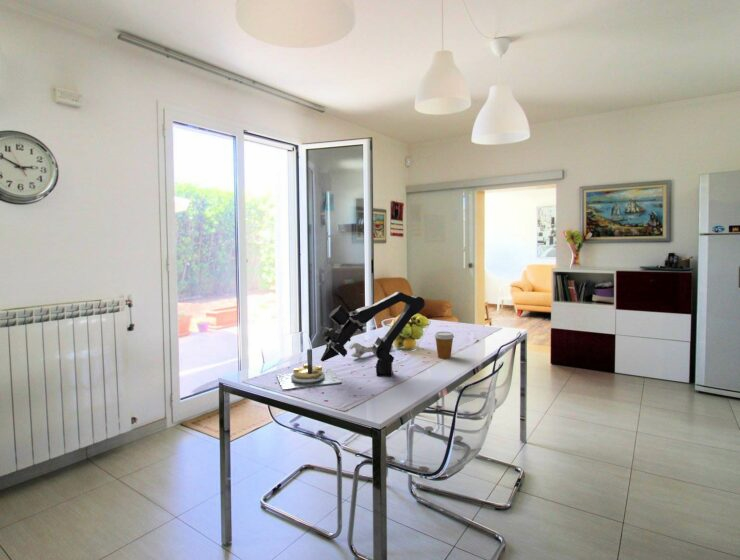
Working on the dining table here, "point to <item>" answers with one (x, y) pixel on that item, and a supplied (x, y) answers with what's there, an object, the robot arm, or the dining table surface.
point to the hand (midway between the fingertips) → (321, 360)
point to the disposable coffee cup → (444, 344)
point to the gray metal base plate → (307, 380)
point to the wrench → (360, 349)
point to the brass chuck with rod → (308, 369)
